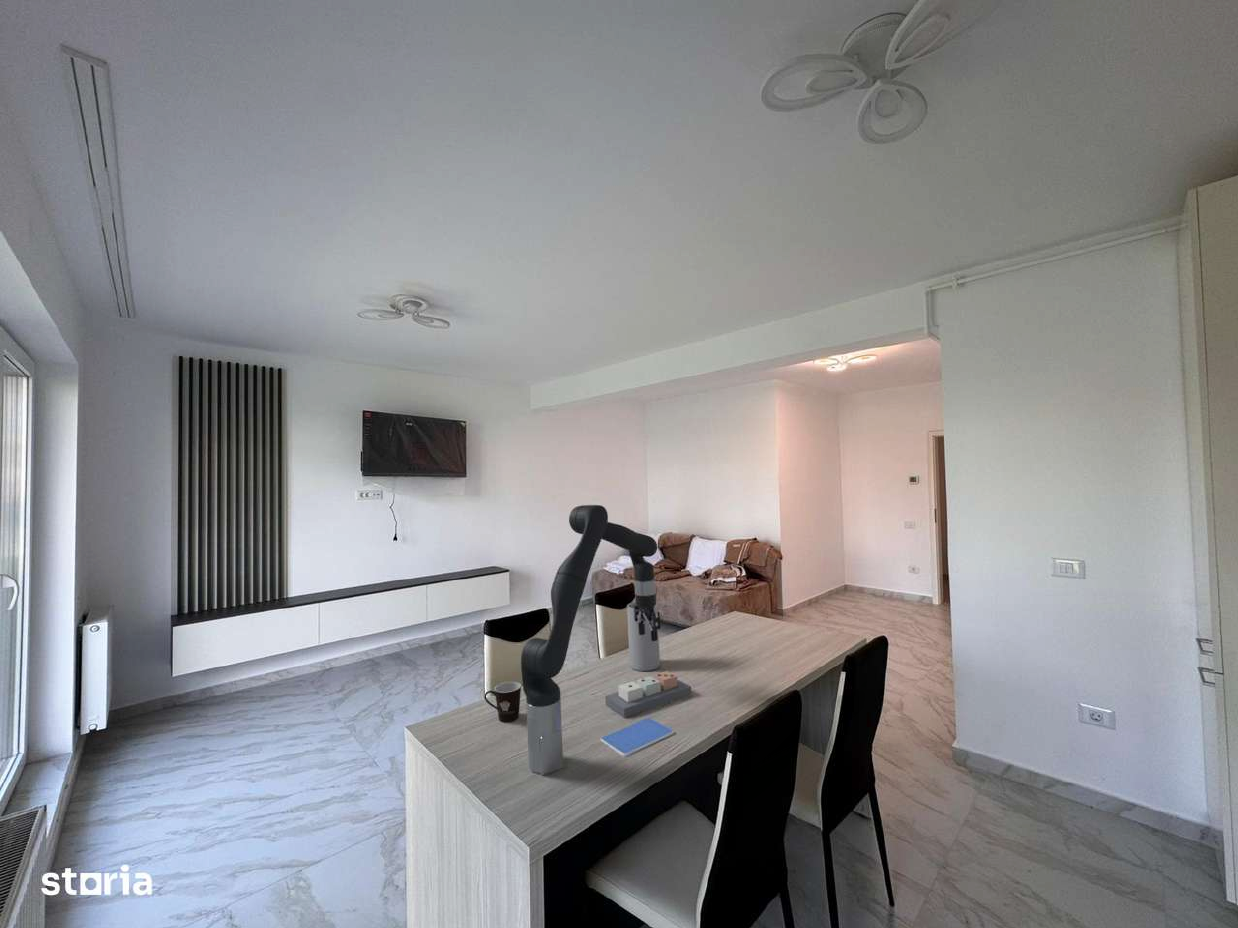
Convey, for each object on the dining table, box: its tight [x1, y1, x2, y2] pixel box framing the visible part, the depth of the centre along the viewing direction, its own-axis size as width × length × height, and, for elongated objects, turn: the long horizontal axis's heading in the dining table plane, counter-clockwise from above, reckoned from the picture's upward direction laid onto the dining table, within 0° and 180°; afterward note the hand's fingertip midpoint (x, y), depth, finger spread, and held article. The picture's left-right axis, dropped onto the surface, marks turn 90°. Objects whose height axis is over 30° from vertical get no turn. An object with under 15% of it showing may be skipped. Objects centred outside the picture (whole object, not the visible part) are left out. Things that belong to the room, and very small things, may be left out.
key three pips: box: [653, 670, 679, 691], centre depth 172 cm, size 6×6×4 cm
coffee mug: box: [484, 681, 522, 724], centre depth 160 cm, size 12×9×10 cm
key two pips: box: [635, 675, 661, 696], centre depth 168 cm, size 6×6×4 cm
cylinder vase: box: [626, 601, 661, 672], centre depth 200 cm, size 12×12×25 cm
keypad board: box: [604, 679, 692, 719], centre depth 168 cm, size 12×28×3 cm, turn 122°
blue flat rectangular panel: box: [599, 717, 675, 758], centre depth 144 cm, size 19×13×1 cm, turn 127°
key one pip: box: [617, 681, 643, 702], centre depth 164 cm, size 6×6×4 cm
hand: (648, 637), depth 173 cm, fingers open, 8 cm apart
